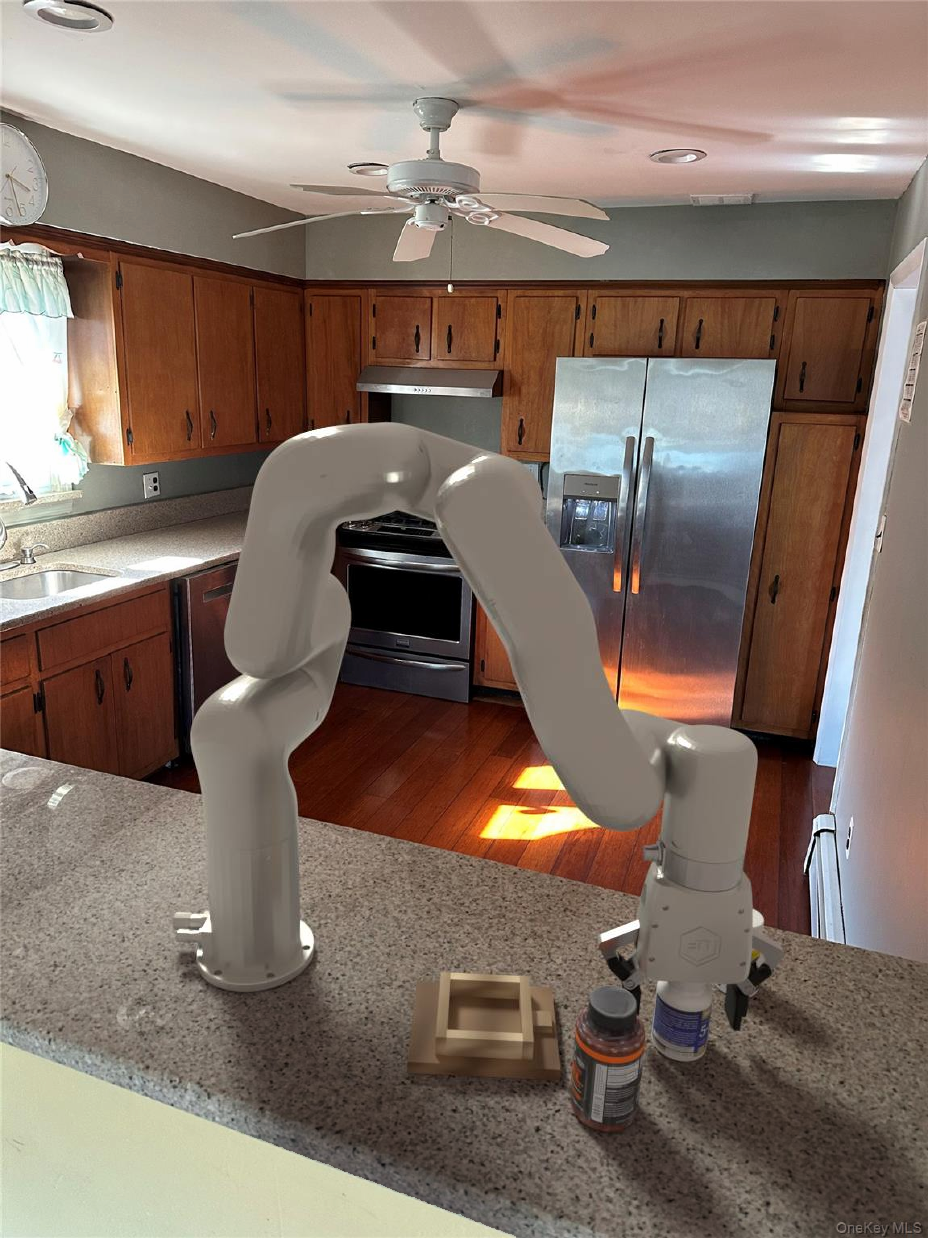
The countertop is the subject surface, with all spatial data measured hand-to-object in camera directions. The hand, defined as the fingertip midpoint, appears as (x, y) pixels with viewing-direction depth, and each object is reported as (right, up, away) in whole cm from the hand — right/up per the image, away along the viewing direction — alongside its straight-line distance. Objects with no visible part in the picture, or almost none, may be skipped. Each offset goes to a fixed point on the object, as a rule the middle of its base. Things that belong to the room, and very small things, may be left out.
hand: (681, 1018), depth 82 cm
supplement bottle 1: (-9, -5, -7) cm, 12 cm away
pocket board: (-19, -2, +1) cm, 19 cm away
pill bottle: (0, -3, +1) cm, 3 cm away
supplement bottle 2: (+8, -1, +9) cm, 12 cm away
